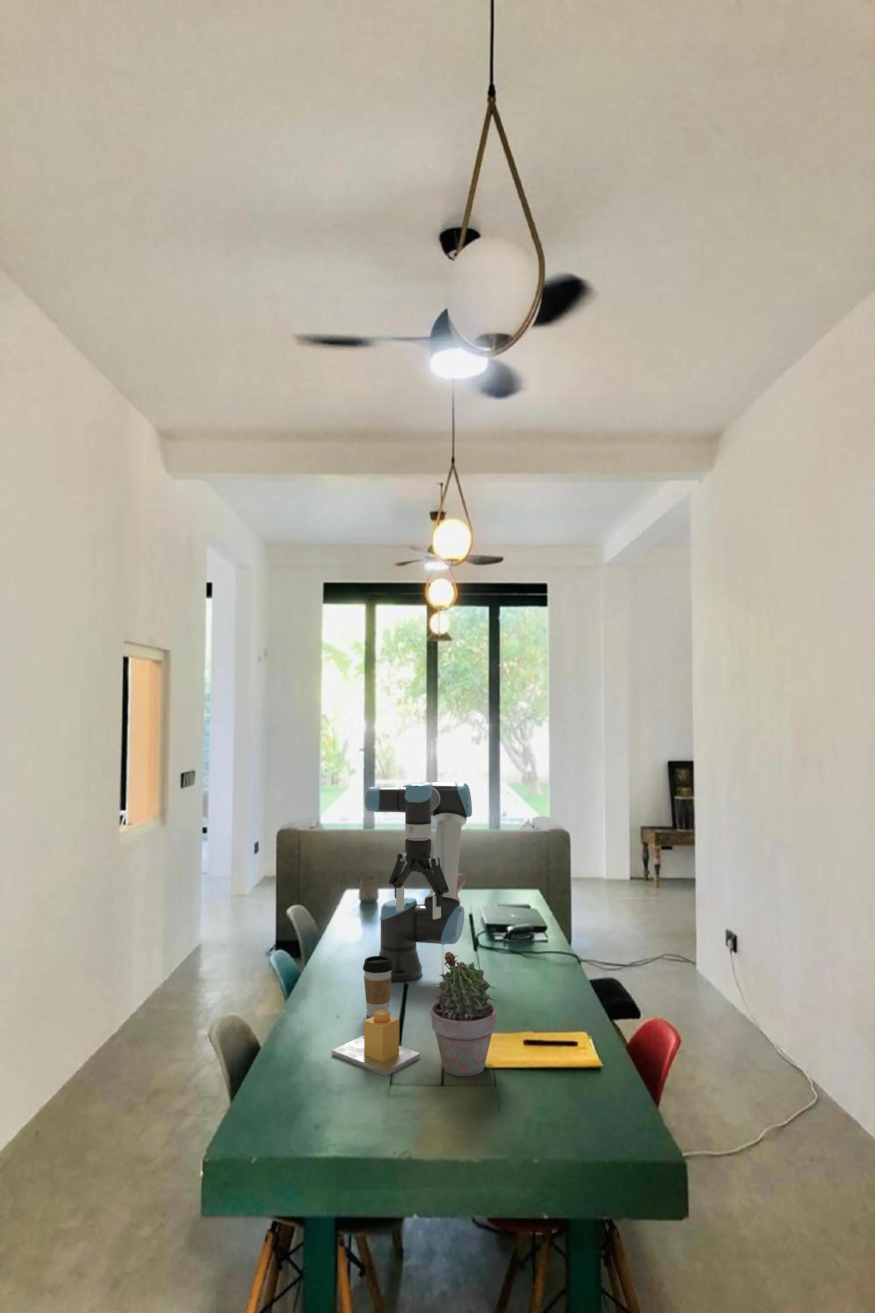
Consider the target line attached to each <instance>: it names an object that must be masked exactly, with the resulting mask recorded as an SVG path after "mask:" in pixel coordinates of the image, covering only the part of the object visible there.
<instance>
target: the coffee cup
mask: <svg viewBox="0 0 875 1313" xmlns="http://www.w3.org/2000/svg"><path fill="white" fill-rule="evenodd" d="M392 969H393V965H392V963H391V958H389V957H385V956H379V955H373V956H369V957H366V958H365V959H364V962H363V966H362V970H363V971H364V975H363V979H364V980H363V981H364V992H365V994H364V995H365V1002H366V1003H365V1004H366V1015H367V1017H369V1018H371V1017H373V1016H374V1012H376V1011H379V1010H386V1011H389V1008H390V1006H389V1005H390V997H391V985H392V982H391V977H392V976H391V970H392Z"/></svg>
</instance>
